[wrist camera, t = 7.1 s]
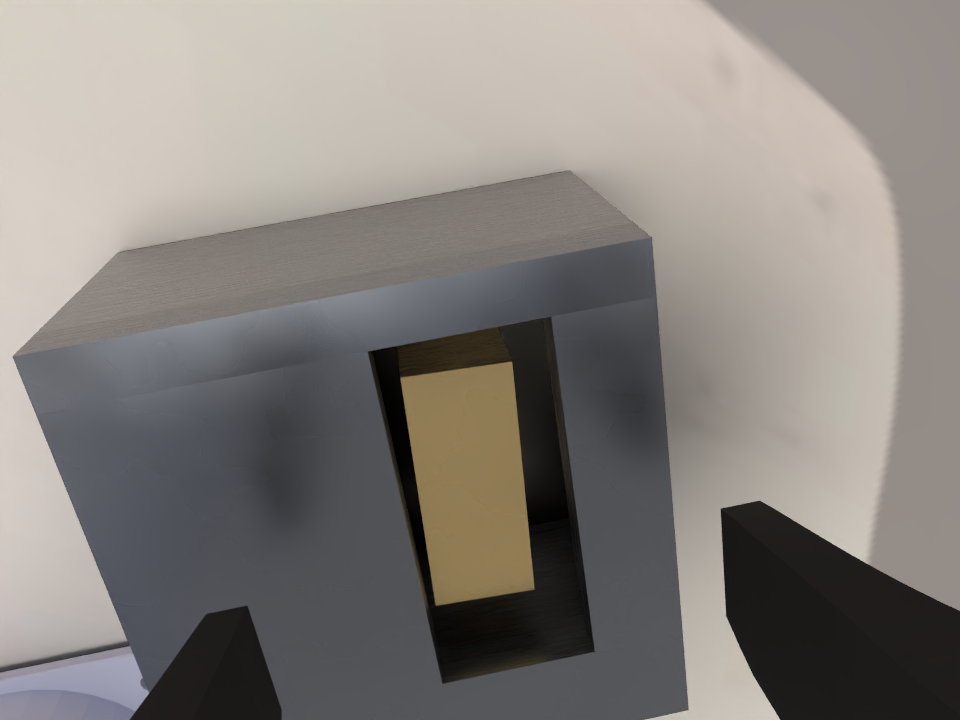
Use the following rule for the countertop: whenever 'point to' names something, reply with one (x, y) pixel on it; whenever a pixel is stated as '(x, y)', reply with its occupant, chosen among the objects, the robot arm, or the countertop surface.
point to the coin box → (372, 454)
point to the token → (468, 464)
